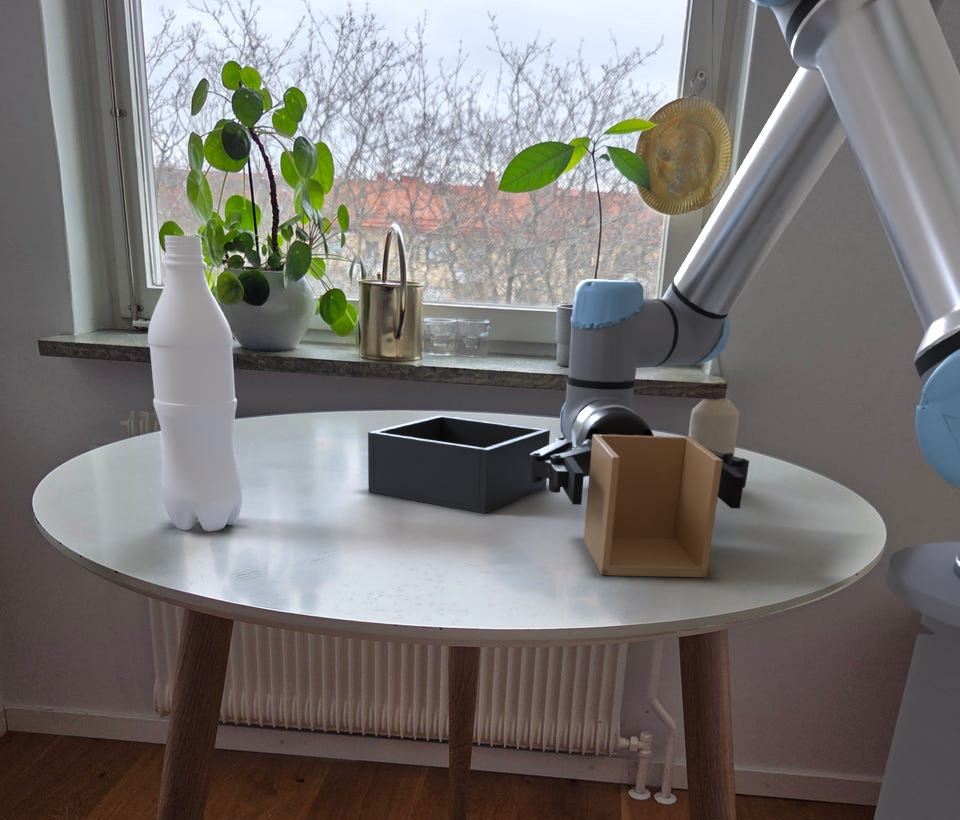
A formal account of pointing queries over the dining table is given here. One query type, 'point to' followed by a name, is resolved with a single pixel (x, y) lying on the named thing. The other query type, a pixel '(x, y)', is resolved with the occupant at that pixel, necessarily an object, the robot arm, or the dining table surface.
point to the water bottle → (194, 393)
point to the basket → (454, 462)
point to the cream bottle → (715, 425)
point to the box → (651, 505)
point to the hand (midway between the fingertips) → (658, 491)
